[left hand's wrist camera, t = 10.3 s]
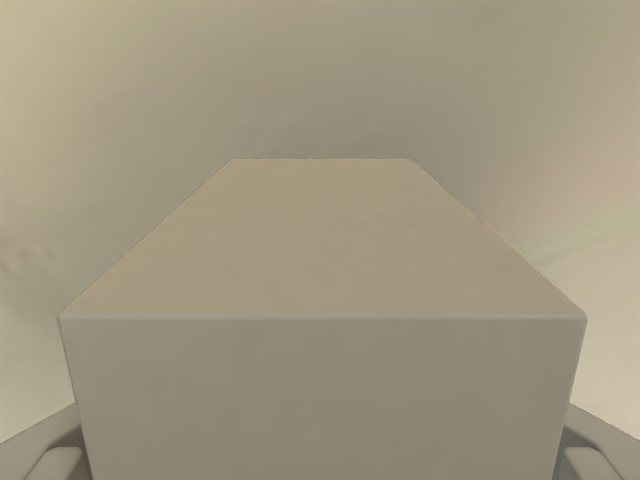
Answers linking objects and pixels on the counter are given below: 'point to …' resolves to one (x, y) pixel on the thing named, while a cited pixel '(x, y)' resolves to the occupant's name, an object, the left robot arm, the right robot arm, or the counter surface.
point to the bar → (322, 336)
